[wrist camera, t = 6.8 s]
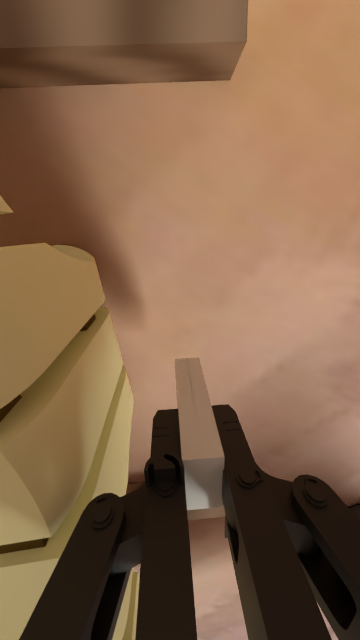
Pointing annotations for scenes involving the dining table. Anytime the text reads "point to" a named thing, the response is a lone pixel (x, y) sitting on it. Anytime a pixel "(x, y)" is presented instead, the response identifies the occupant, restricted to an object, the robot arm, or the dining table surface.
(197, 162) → the dining table surface
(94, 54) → the bay frame
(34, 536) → the slatted curved stool
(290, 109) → the dining table surface
